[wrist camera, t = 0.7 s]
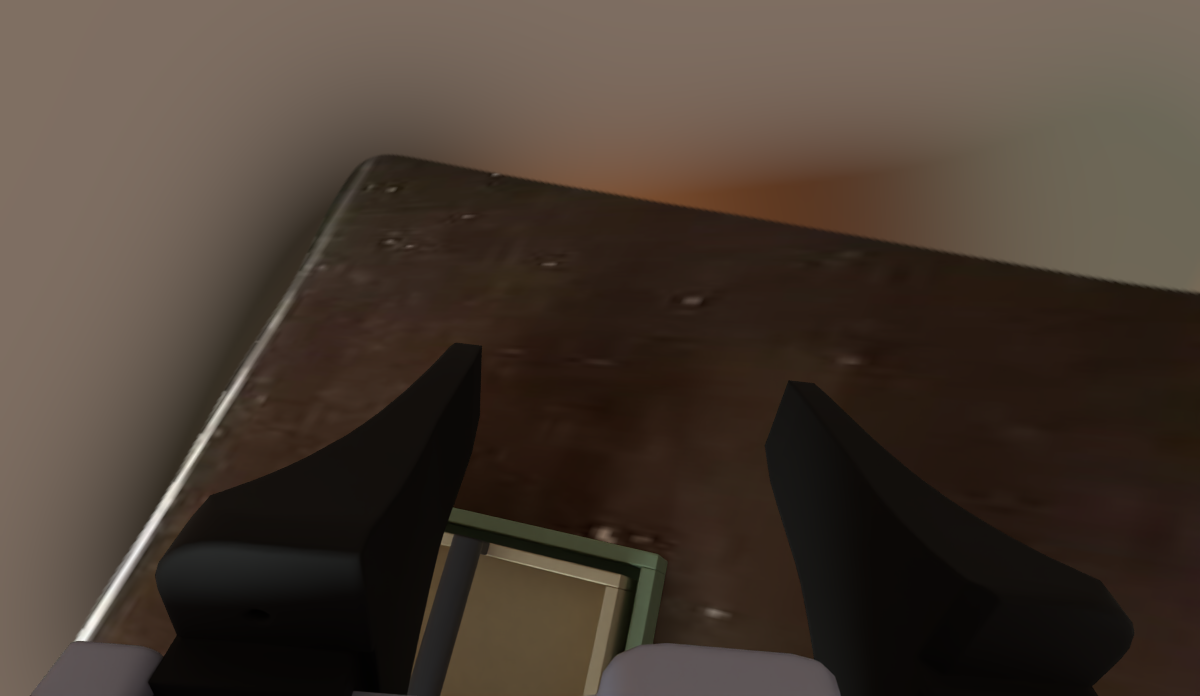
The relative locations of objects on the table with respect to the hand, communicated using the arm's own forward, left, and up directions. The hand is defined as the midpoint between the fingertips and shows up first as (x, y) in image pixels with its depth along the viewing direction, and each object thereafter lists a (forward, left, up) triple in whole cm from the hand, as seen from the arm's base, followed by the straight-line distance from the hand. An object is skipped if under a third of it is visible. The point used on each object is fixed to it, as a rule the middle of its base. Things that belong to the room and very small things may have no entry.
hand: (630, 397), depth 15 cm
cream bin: (-8, +7, -16) cm, 19 cm away
